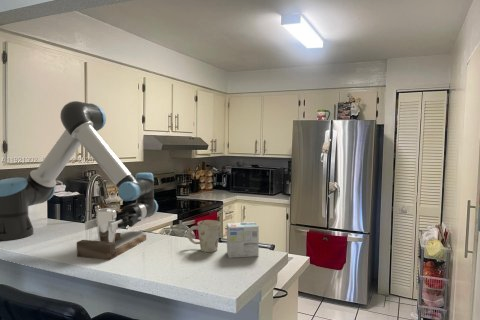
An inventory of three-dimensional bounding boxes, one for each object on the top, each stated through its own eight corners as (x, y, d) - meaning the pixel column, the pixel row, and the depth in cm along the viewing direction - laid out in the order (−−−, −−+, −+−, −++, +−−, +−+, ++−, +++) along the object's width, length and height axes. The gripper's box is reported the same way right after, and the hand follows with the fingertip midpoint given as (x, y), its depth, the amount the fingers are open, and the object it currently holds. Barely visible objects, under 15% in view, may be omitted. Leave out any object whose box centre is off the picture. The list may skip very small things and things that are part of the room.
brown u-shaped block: (117, 237, 145) (117, 225, 145) (146, 239, 142) (146, 227, 141) (77, 256, 122) (76, 242, 121) (110, 259, 119) (110, 245, 118)
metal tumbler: (115, 253, 125) (115, 211, 124) (94, 254, 123) (93, 212, 123) (118, 247, 131) (118, 207, 130) (98, 248, 130) (98, 208, 129)
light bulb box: (255, 250, 129) (255, 221, 128) (259, 256, 122) (259, 226, 122) (226, 252, 127) (226, 222, 127) (228, 258, 121) (228, 227, 120)
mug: (216, 254, 125) (217, 226, 124) (183, 251, 127) (183, 224, 127) (222, 247, 133) (222, 220, 132) (190, 244, 136) (190, 219, 135)
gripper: (157, 224, 142) (127, 239, 120) (109, 220, 147) (71, 235, 125) (157, 205, 141) (126, 218, 120) (109, 203, 147) (71, 214, 125)
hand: (98, 226), depth 122 cm, fingers open, 9 cm apart
